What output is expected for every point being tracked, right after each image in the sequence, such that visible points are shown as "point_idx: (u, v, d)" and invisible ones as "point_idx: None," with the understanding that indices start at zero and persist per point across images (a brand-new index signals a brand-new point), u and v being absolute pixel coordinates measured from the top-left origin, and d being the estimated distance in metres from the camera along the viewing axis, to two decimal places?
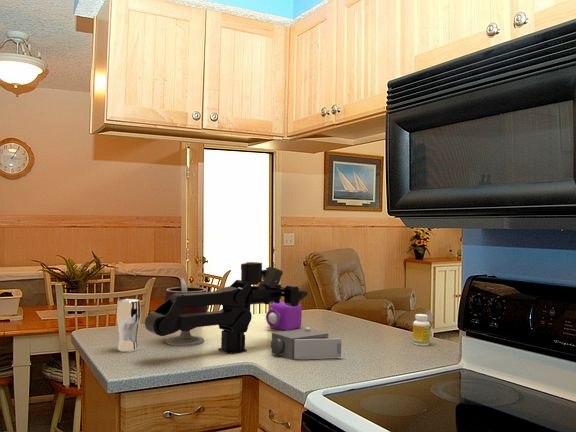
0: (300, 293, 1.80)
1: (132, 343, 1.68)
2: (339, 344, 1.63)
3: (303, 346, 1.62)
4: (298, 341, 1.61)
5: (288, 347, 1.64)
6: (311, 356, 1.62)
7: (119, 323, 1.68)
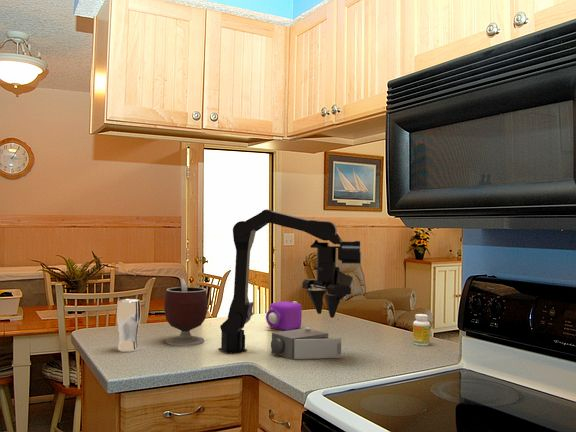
0: (335, 304, 1.63)
1: (132, 343, 1.68)
2: (339, 344, 1.63)
3: (303, 346, 1.62)
4: (298, 341, 1.61)
5: (288, 347, 1.64)
6: (311, 356, 1.62)
7: (119, 323, 1.68)
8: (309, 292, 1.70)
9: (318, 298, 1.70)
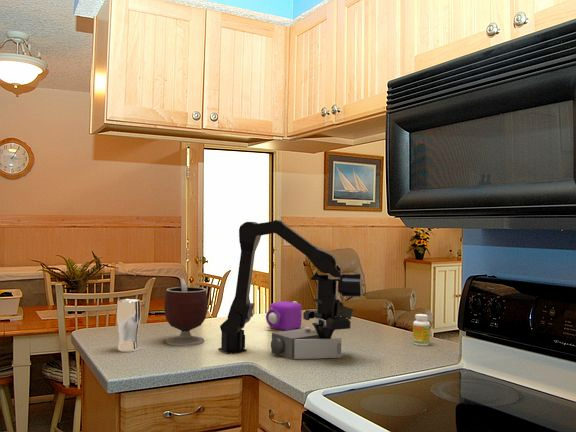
0: (328, 335, 1.65)
1: (132, 343, 1.68)
2: (339, 344, 1.63)
3: (303, 346, 1.62)
4: (298, 341, 1.61)
5: (288, 347, 1.64)
6: (311, 356, 1.62)
7: (119, 323, 1.68)
8: (315, 326, 1.66)
9: None
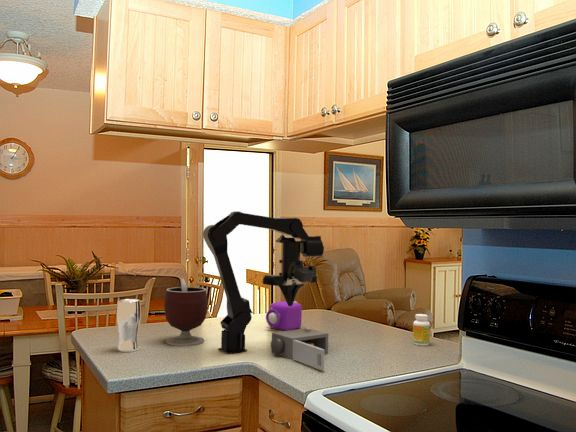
0: (287, 294, 1.77)
1: (132, 343, 1.68)
2: (318, 355, 1.50)
3: (297, 348, 1.59)
4: (294, 342, 1.60)
5: (288, 347, 1.64)
6: (302, 360, 1.57)
7: (119, 323, 1.68)
8: None
9: None
